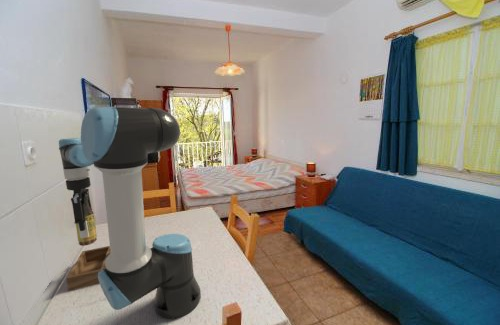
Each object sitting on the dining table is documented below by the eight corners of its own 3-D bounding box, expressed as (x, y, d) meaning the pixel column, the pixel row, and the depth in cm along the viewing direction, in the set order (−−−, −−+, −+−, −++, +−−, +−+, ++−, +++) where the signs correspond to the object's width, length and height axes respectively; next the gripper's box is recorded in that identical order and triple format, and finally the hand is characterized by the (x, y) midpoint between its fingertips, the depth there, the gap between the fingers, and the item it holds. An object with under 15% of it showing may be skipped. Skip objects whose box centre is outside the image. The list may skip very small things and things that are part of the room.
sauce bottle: (86, 247, 90) (77, 199, 86) (75, 245, 92) (66, 197, 88) (101, 239, 96) (94, 193, 92) (90, 237, 98) (83, 192, 94)
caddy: (135, 276, 93) (133, 262, 92) (69, 293, 85) (66, 278, 84) (138, 251, 111) (136, 240, 110) (84, 263, 103) (82, 251, 102)
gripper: (81, 182, 82) (92, 242, 86) (94, 172, 99) (102, 222, 103) (55, 185, 79) (67, 247, 83) (73, 174, 97) (83, 225, 101)
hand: (87, 233), depth 93 cm, fingers closed on sauce bottle, 6 cm apart
